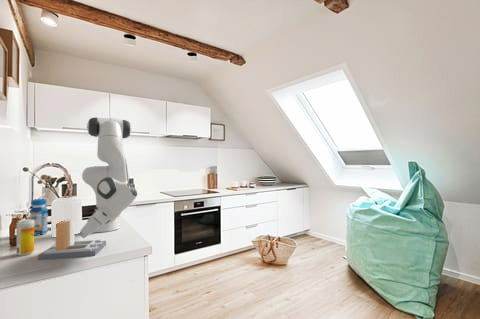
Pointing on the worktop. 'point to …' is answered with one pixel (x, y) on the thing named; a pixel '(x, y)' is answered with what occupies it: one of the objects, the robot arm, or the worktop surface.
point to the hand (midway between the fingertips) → (83, 236)
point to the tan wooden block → (62, 235)
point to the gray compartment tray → (74, 247)
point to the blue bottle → (39, 216)
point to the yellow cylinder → (25, 237)
